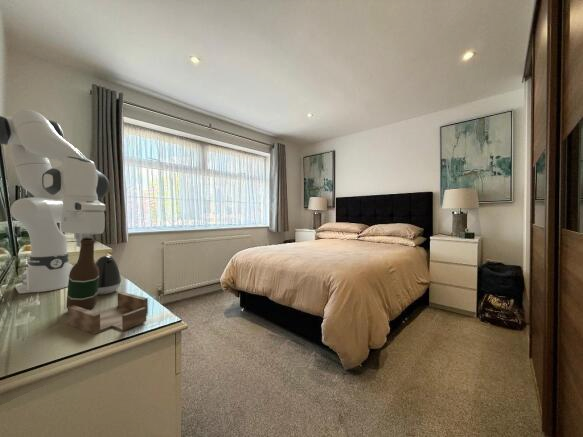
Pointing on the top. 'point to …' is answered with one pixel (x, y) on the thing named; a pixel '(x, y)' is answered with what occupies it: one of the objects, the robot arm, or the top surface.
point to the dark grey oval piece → (108, 275)
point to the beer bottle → (84, 278)
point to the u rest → (111, 315)
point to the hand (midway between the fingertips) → (82, 246)
